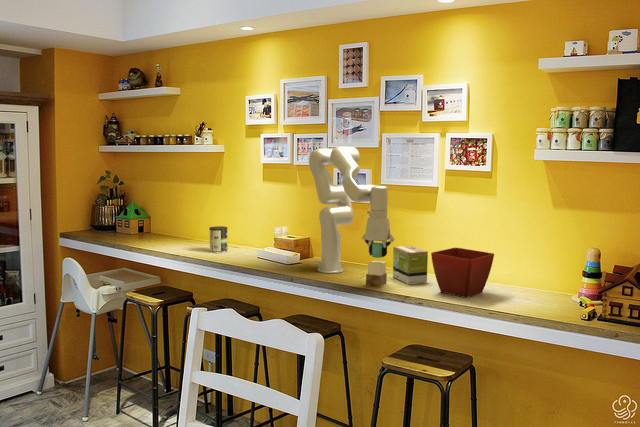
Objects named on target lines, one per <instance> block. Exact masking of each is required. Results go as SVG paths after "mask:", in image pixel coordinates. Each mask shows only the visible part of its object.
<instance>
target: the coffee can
mask: <svg viewBox="0 0 640 427" xmlns="http://www.w3.org/2000/svg"><path fill="white" fill-rule="evenodd" d="M228 249H229V248H228V226H220V225H219V226H210V227H209V252H210V253H212V254H223V253H228V252H229V251H228Z"/></svg>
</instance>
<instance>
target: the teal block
mask: <svg viewBox="0 0 640 427" xmlns="http://www.w3.org/2000/svg"><path fill="white" fill-rule="evenodd" d="M382 248H383V243H382V241H374V242H373V243H372V255H371V257H372V258H377V259H380V258H381V259H382V258H384V257H383V256H382Z"/></svg>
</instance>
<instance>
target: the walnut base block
mask: <svg viewBox="0 0 640 427" xmlns="http://www.w3.org/2000/svg"><path fill="white" fill-rule="evenodd" d="M387 275H388V274H387V272H386V273H385V274H383V275H381V276H378V275H369V274H368V273H366V274H365V286H368V285H374V286H373V287H376V286H382V285H384V284H385V285H387V284H386V283H387V280H388V279H387V278H388V277H387ZM385 285H384V286H385ZM382 287H383V286H382Z"/></svg>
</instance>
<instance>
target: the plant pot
mask: <svg viewBox="0 0 640 427" xmlns="http://www.w3.org/2000/svg"><path fill="white" fill-rule="evenodd" d="M430 256H431V263H432V267H433V271H434V276H435V280H436V281H437V282H436V283H437V286H438V289H439V290H440V292H441V293H444V292H446V293H445V294H448V293H450V295H452V294H455V295H454V296H457V295H459V296H458V297H461V296H463V297H462V298H469V296H470V297H472V295H473V296H475V295H478V294H482V292H483V291H484V289H485V286H486V285H487V284H486V283H487V282H488V279H489V276H490V273H491V269H492V266H493V262H494V257H495V253H493V252H489V251H481V250H475V249H468V248H463V247H450V248H447V249H442V250H438V251H437V250H436V251H433V252H431V255H430Z"/></svg>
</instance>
